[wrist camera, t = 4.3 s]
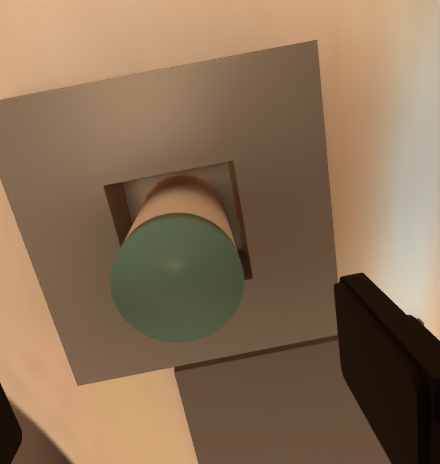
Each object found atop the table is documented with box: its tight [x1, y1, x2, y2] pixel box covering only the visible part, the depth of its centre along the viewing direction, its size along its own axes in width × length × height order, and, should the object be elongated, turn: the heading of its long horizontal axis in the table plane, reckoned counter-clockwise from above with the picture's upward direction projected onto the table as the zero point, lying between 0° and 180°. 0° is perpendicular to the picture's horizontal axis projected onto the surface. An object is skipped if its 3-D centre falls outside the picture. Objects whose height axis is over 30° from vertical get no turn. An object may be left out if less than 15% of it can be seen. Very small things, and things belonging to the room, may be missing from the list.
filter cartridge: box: [110, 174, 244, 343], centre depth 19 cm, size 5×5×10 cm
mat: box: [174, 319, 424, 464], centre depth 29 cm, size 18×16×1 cm
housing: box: [0, 40, 338, 386], centre depth 22 cm, size 16×16×4 cm
